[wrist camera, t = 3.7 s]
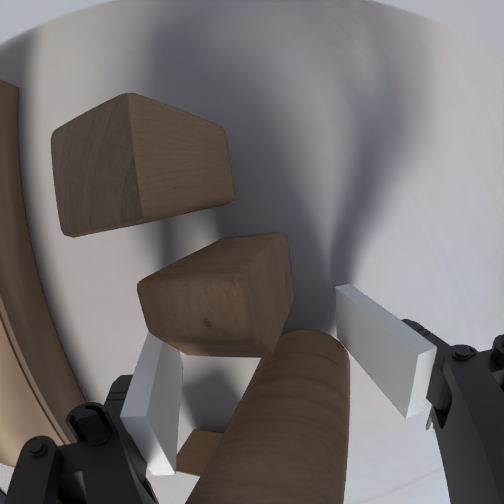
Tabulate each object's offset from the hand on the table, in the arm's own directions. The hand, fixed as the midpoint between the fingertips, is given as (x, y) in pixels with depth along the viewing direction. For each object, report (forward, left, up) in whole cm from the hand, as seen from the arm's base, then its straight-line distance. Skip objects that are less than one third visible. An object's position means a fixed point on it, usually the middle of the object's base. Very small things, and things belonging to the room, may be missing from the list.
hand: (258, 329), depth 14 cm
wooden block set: (-1, 0, -1) cm, 1 cm away
